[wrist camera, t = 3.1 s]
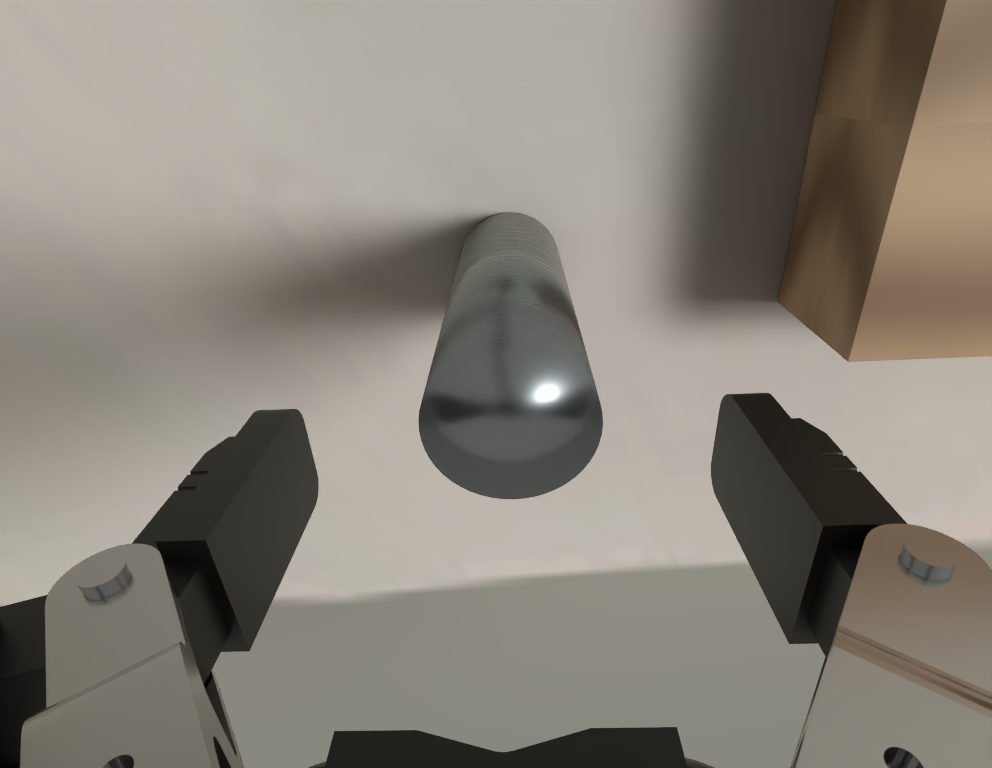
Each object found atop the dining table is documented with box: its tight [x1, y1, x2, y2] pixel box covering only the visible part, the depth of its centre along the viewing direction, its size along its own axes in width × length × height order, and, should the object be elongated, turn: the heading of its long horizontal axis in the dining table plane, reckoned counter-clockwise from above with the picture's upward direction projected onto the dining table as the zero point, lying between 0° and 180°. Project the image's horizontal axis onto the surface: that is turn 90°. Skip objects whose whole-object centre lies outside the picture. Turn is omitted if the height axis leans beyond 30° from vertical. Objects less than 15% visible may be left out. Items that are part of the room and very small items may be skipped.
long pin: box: [419, 212, 603, 499], centre depth 16 cm, size 4×4×11 cm
